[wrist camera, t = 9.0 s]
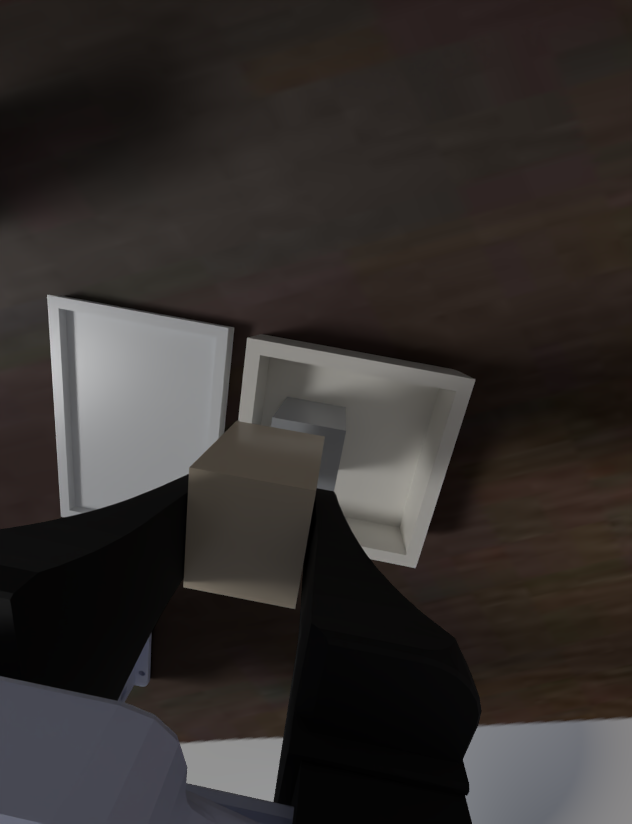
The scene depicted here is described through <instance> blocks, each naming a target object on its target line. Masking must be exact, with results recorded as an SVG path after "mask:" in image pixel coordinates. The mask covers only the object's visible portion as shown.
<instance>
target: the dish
mask: <svg viewBox="0 0 632 824" xmlns="http://www.w3.org/2000/svg"><path fill="white" fill-rule="evenodd" d="M475 380H476V379H474V378H472V377H469V376H467V375H465V374H463V373H461V372H459V371H457V370H455V369H450V368H444V367H439V366H433V365H428V364H422V363H417V362H411V361H406V360H401V359H395V358H390V357H384V356H379V355H373V354H368V353H362V352H357V351H351V350H346V349H340V348H335V347H329V346H324V345H318V344H313V343H307V342H302V341H297V340H291V339H286V338H280V337H275V336H269V335H264V334H261V335H257V336H252V337H248V338H247V344H246V353H245V362H244V372H243V381H242V390H241V399H240V408H239V418H238V421H240V422H246V423H252V424H257V425H263V426H269V427H271V423H272V417H273V415H274V414H275V413H276V411H277V410H278V408H279V407H280V406H281V404H282V403H283V401H284V400H285V398H286V397H292V398H297V399H303V400H308V401H314V402H320V403H325V404H331V405H336V406H342V407H346V434H345V439H344V444H343V449H342V454H341V459H340V464H339V469H338V474H337V479H336V484H335V489H334V492H335V494H336V496H337V499H338V502H339V505H340V507H341V510H342V512H343V514H344V516H345V518H346V520H347V522H348V524H349V526H350V528H351V530H352V532H353V534H354V535H355V537H356V539H357V540H358V542H359V544H360V545H361V547H362V548H363V550H364V551H365V553H366V554H367V556H368V557H369V558H370V559H373V560H378V561H383V562H388V563H393V564H398V565H403V566H408V567H413V568H416V565H417V562H418V559H419V556H420V553H421V550H422V547H423V543H424V540H425V537H426V534H427V531H428V528H429V525H430V521H431V518H432V515H433V512H434V509H435V506H436V503H437V499H438V496H439V493H440V490H441V487H442V484H443V481H444V477H445V474H446V471H447V468H448V465H449V462H450V459H451V455H452V452H453V449H454V446H455V443H456V440H457V437H458V433H459V430H460V427H461V424H462V421H463V418H464V415H465V411H466V408H467V405H468V402H469V399H470V396H471V393H472V389H473V386H474V383H475Z"/></svg>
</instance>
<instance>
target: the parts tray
mask: <svg viewBox="0 0 632 824" xmlns="http://www.w3.org/2000/svg"><path fill="white" fill-rule="evenodd" d="M47 300H48V316H49V332H50V348H51V364H52V380H53V396H54V412H55V428H56V444H57V459H58V475H59V491H60V507H61V516H62V517H69V516H73V515H77V514H81V513H85V512H89V511H93V510H97V509H100V508H103V507H106V506H110V505H113V504H116V503H119V502H122V501H125V500H128V499H130V498H133V497H135V496H138V495H140V494H143V493H145V492H148V491H151V490H153V489H156V488H158V487H160V486H163V485H165V484H167V483H169V482H172V481H174V480H176V479H178V478H180V477H183V476H185V475H187V474H189V467H190V466H191V465H192V464H193V463H194V462H195V461H196V460H197V459H198V458H199V457H200V456H201V455H202V454H203V453H204V452H205V451H206V450H207V449H208V448H209V447H210V446H211V445H212V444H213V443H215V442H216V441H217V440H218V439H219V438H220V437H221V436H222V435H223V434H224V430H225V420H226V409H227V399H228V389H229V378H230V368H231V358H232V347H233V337H234V327H230V326H225V325H219V324H214V323H208V322H203V321H197V320H192V319H186V318H181V317H175V316H170V315H164V314H159V313H153V312H148V311H142V310H137V309H131V308H126V307H120V306H115V305H109V304H104V303H99V302H93V301H88V300H82V299H77V298H71V297H66V296H57V295H47Z"/></svg>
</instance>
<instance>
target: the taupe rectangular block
mask: <svg viewBox="0 0 632 824" xmlns="http://www.w3.org/2000/svg"><path fill="white" fill-rule="evenodd" d="M324 439H325V436H319V435H314V434H308V433H302V432H297V431H291V430H285V429H280V428H274V427H269V426H263V425H257V424H252V423H246V422H240V421H236V422H235V423H234V424H233V425H232V426H231V427H230V428H229V429H228V430H227V431H226V432H225V433H224V434H223V435H222V436H221V437H220V438H219V439H218V440H217V441H216V442H215V443H213V444H212V445H211V446H210V447H209V448H208V449H207V450H206V451H205V452H204V453H203V454H202V455H201V456H200V457H199V458H198V459H197V460H196V461H195V462H194V463H193V464H192V465H191V466H190V467H189V481H188V502H187V522H186V543H185V563H184V584H183V587H185V588H190V589H195V590H200V591H205V592H210V593H215V594H220V595H226V596H231V597H236V598H241V599H246V600H251V601H256V602H261V603H266V604H271V605H277V606H282V607H287V608H292V609H295V607H296V601H297V596H298V590H299V584H300V579H301V573H302V568H303V562H304V556H305V551H306V545H307V539H308V534H309V528H310V523H311V517H312V511H313V506H314V500H315V495H316V489H317V483H318V476H319V470H320V464H321V457H322V451H323V445H324Z"/></svg>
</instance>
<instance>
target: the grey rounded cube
mask: <svg viewBox="0 0 632 824" xmlns="http://www.w3.org/2000/svg"><path fill="white" fill-rule="evenodd" d="M271 427H274V428H280V429H285V430H291V431H297V432H302V433H308V434H314V435H319V436H325V439H324V445H323V451H322V457H321V464H320V470H319V476H318V483H317V488H319V489H324V490H330V491H334V489H335V484H336V479H337V474H338V469H339V464H340V459H341V454H342V449H343V444H344V439H345V434H346V407H342V406H336V405H331V404H325V403H320V402H314V401H308V400H303V399H297V398H292V397H286V398H285V400H284V401H283V403H282V404H281V406H280V407H279V408H278V410H277V411H276V413H275V414H274V415H273V417H272V423H271Z"/></svg>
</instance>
